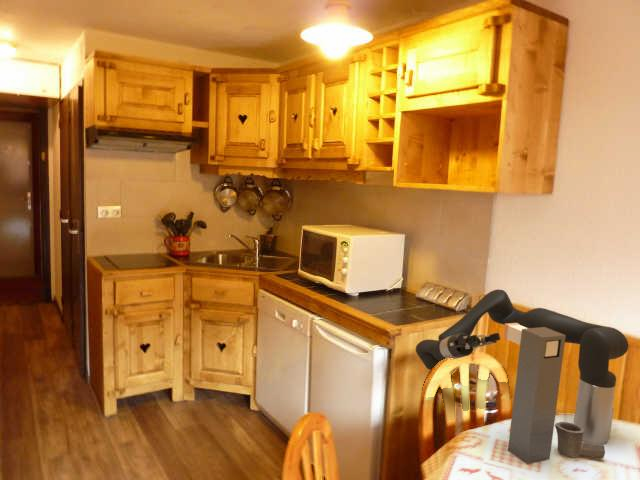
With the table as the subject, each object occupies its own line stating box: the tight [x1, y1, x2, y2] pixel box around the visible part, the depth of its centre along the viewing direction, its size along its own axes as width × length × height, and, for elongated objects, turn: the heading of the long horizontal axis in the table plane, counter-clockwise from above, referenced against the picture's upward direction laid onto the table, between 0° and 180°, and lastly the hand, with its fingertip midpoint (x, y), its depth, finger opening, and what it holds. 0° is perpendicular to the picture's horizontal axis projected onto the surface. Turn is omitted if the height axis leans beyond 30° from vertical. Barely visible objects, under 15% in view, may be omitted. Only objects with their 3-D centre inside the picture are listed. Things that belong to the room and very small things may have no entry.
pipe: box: [554, 421, 606, 459], centre depth 137 cm, size 6×13×8 cm, turn 78°
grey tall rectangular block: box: [507, 327, 566, 465], centre depth 133 cm, size 8×7×35 cm
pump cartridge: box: [503, 323, 558, 357], centre depth 135 cm, size 4×15×4 cm, turn 22°
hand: (487, 337), depth 151 cm, fingers open, 8 cm apart
